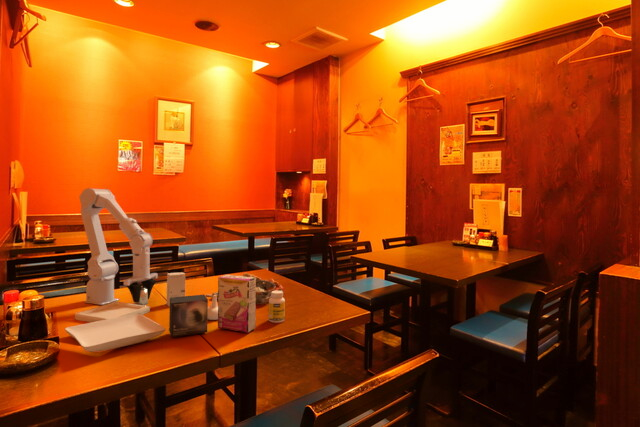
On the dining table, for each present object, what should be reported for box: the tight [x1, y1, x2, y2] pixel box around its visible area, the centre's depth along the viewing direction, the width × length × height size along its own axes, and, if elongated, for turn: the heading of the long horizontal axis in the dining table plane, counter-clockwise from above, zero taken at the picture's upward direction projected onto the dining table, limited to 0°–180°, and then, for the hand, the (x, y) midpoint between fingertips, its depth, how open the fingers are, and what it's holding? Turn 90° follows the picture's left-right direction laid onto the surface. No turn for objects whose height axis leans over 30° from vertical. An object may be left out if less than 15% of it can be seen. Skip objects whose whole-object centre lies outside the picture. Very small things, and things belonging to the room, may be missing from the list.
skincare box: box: [166, 271, 186, 308], centre depth 142 cm, size 6×4×12 cm
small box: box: [168, 294, 209, 338], centre depth 114 cm, size 11×6×10 cm, turn 117°
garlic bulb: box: [207, 295, 218, 321], centre depth 127 cm, size 6×6×8 cm
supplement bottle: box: [268, 291, 286, 324], centre depth 126 cm, size 5×5×10 cm
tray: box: [74, 301, 151, 323], centre depth 128 cm, size 16×16×2 cm
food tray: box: [205, 272, 285, 305], centre depth 152 cm, size 35×26×11 cm
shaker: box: [134, 287, 149, 306], centre depth 142 cm, size 4×4×6 cm
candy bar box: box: [217, 274, 257, 334], centre depth 117 cm, size 11×5×16 cm, turn 71°
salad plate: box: [64, 314, 167, 353], centre depth 108 cm, size 21×21×3 cm
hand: (141, 300), depth 142 cm, fingers closed on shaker, 4 cm apart
